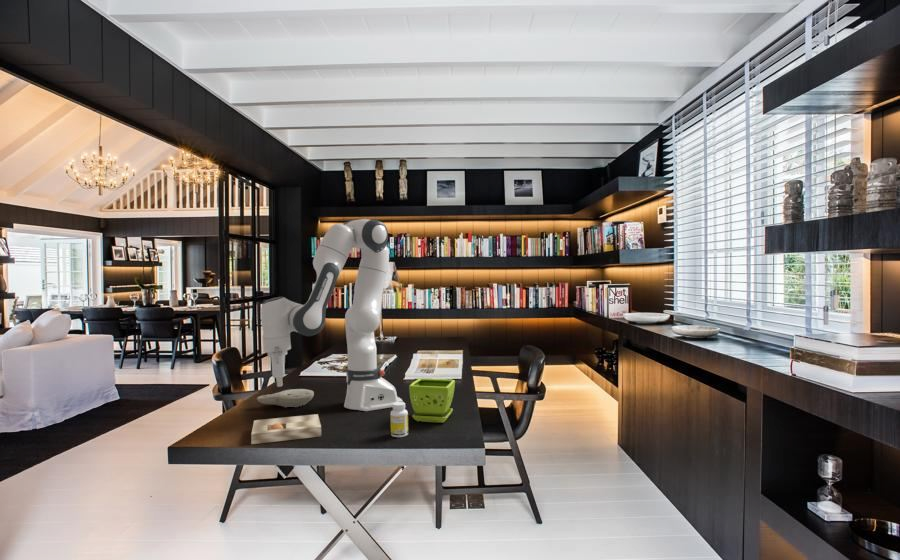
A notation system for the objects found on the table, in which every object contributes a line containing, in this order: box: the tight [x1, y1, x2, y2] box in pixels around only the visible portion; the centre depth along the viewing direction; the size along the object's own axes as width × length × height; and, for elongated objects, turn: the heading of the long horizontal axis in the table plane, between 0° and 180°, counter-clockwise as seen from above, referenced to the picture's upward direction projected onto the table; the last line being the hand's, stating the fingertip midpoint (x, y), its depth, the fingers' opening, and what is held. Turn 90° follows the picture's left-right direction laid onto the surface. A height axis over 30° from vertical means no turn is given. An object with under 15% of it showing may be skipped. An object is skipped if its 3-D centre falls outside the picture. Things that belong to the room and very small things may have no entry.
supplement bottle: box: [390, 401, 409, 438], centre depth 148 cm, size 5×5×10 cm
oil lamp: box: [256, 388, 315, 408], centre depth 184 cm, size 21×14×5 cm
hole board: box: [250, 413, 322, 445], centre depth 151 cm, size 20×15×3 cm
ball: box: [270, 423, 283, 430], centre depth 148 cm, size 4×4×4 cm
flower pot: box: [408, 378, 456, 424], centre depth 165 cm, size 14×14×13 cm
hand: (280, 385), depth 161 cm, fingers closed
